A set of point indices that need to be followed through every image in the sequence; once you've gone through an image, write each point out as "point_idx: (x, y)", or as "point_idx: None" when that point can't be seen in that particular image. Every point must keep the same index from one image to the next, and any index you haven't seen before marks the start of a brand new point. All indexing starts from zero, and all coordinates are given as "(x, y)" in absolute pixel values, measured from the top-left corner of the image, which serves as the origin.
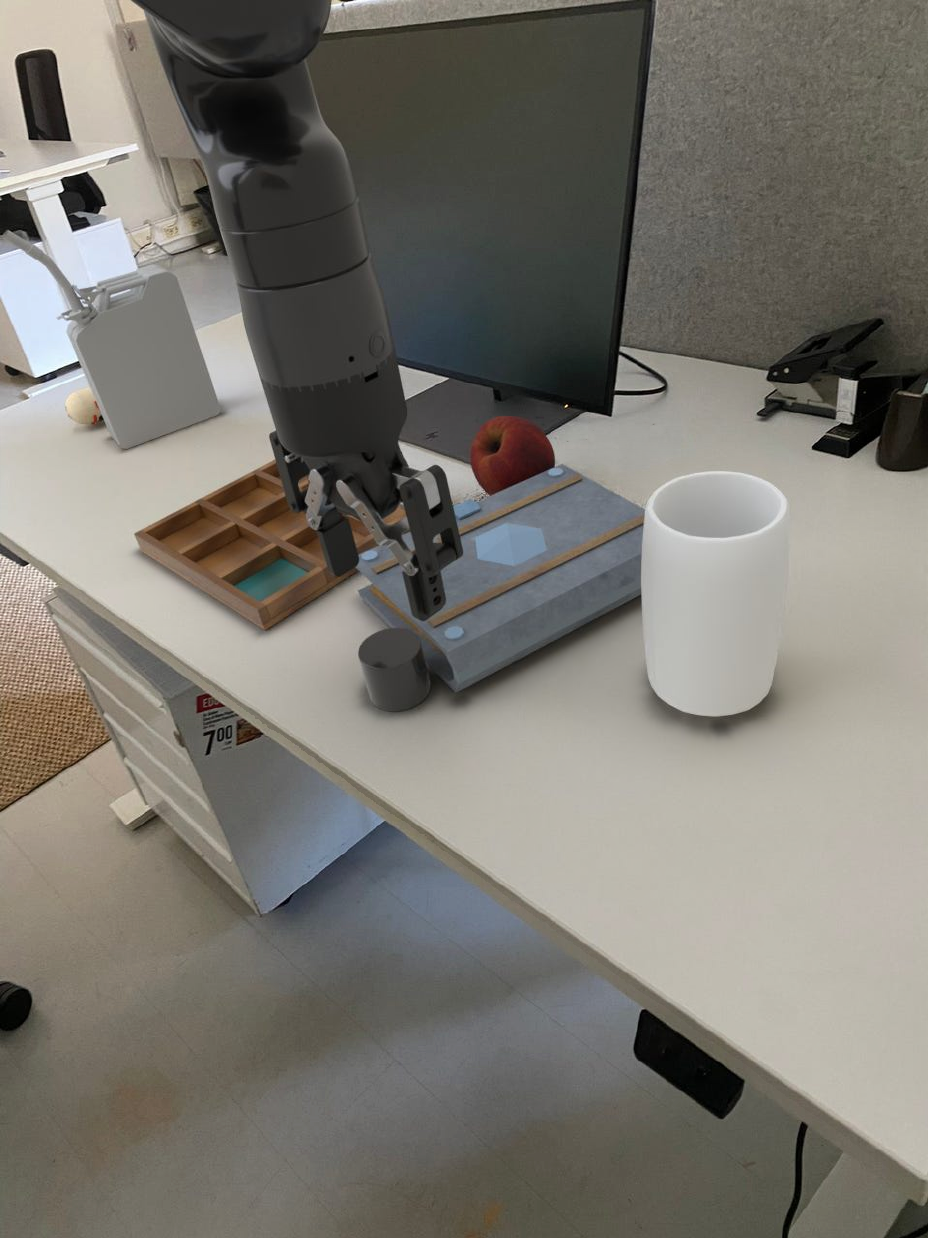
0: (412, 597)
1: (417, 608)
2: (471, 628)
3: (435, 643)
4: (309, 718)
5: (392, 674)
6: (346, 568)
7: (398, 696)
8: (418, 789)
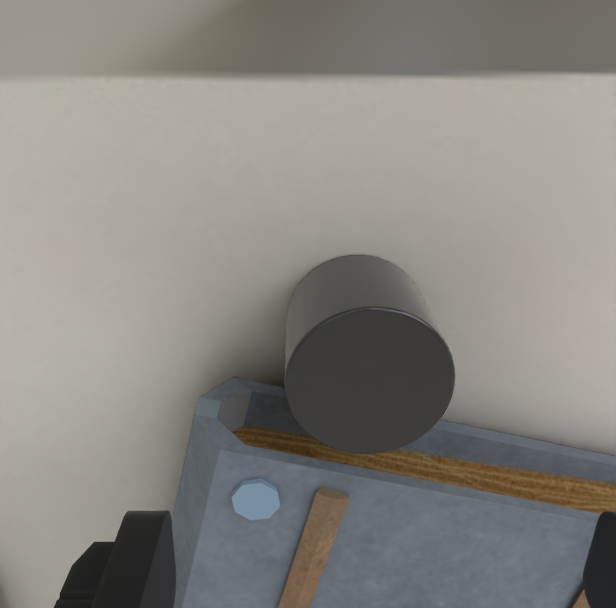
0: (107, 595)
1: (111, 554)
2: (240, 528)
3: (284, 454)
4: (479, 131)
5: (303, 327)
6: (599, 554)
7: (301, 296)
8: (85, 138)
